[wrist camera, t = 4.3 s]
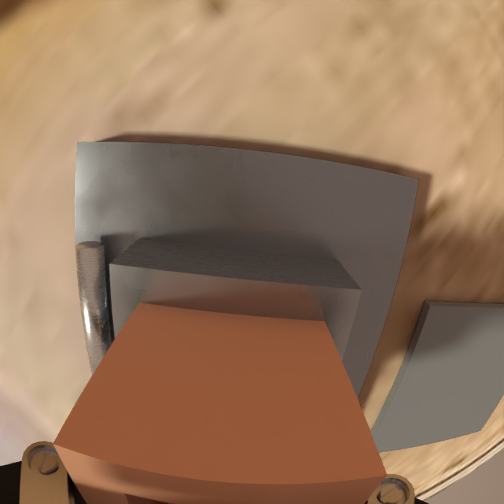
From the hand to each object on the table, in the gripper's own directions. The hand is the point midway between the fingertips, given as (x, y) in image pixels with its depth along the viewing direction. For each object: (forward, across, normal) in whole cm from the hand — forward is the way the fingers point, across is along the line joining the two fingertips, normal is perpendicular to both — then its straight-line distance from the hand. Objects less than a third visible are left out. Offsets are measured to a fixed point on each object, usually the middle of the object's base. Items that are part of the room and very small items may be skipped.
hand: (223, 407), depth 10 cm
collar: (+1, 0, 0) cm, 1 cm away
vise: (+6, 0, 0) cm, 6 cm away
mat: (+6, -16, +4) cm, 17 cm away
